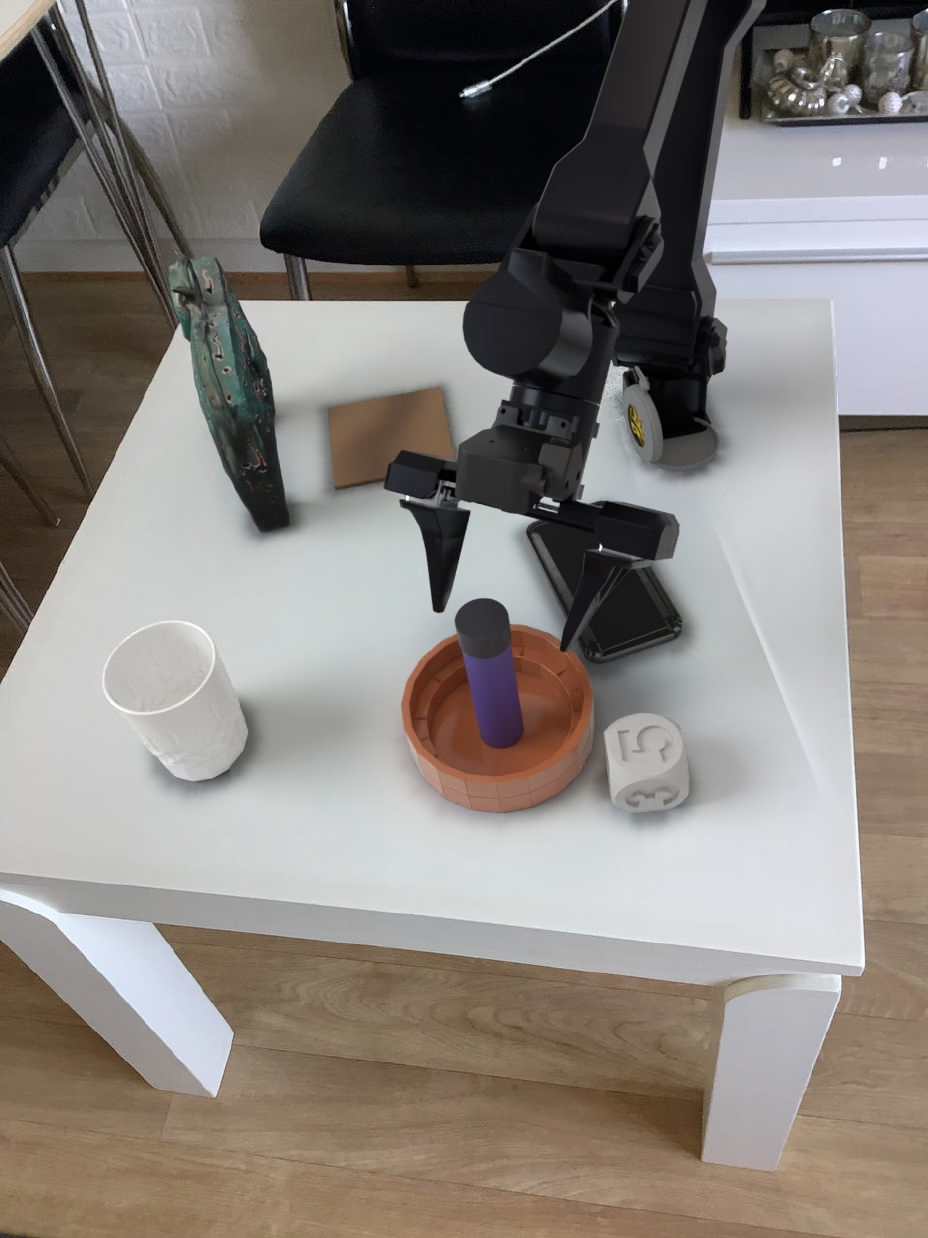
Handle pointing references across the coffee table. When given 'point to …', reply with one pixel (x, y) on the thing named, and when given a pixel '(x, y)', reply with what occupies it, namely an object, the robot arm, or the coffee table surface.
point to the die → (646, 763)
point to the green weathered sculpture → (231, 385)
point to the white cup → (177, 698)
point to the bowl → (451, 733)
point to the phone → (626, 614)
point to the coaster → (386, 434)
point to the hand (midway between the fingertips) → (499, 631)
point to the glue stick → (490, 670)
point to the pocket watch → (649, 438)
